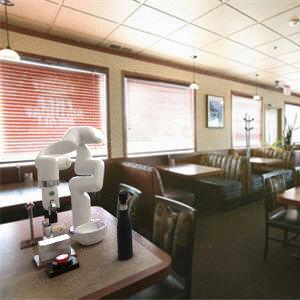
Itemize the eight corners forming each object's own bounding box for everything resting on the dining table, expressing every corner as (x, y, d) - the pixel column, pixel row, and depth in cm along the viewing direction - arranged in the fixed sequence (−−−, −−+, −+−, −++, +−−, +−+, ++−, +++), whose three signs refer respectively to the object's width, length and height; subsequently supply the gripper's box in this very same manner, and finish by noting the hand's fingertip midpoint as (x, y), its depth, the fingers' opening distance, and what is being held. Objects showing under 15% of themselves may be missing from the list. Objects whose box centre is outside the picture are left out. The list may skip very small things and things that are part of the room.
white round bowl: (67, 245, 119) (66, 230, 118) (93, 233, 133) (92, 219, 132) (89, 250, 113) (88, 234, 113) (114, 237, 128) (113, 223, 127)
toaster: (67, 248, 112) (66, 233, 112) (70, 252, 109) (70, 237, 108) (38, 257, 104) (37, 241, 104) (41, 261, 100) (40, 245, 100)
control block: (73, 260, 104) (73, 252, 104) (79, 267, 99) (78, 258, 98) (46, 270, 97) (45, 261, 96) (50, 278, 91) (49, 268, 91)
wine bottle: (136, 254, 109) (133, 191, 107) (126, 261, 103) (123, 194, 101) (125, 252, 111) (122, 190, 109) (114, 259, 105) (111, 193, 103)
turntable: (69, 248, 116) (69, 245, 116) (76, 256, 108) (76, 253, 107) (33, 259, 105) (33, 256, 105) (38, 269, 97) (38, 266, 97)
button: (66, 257, 100) (66, 253, 100) (69, 260, 98) (69, 256, 97) (55, 260, 97) (55, 256, 97) (57, 264, 95) (57, 260, 95)
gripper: (63, 184, 102) (65, 223, 103) (54, 180, 114) (56, 214, 115) (42, 187, 96) (44, 227, 97) (34, 182, 108) (36, 218, 109)
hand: (50, 220), depth 106 cm, fingers open, 9 cm apart
